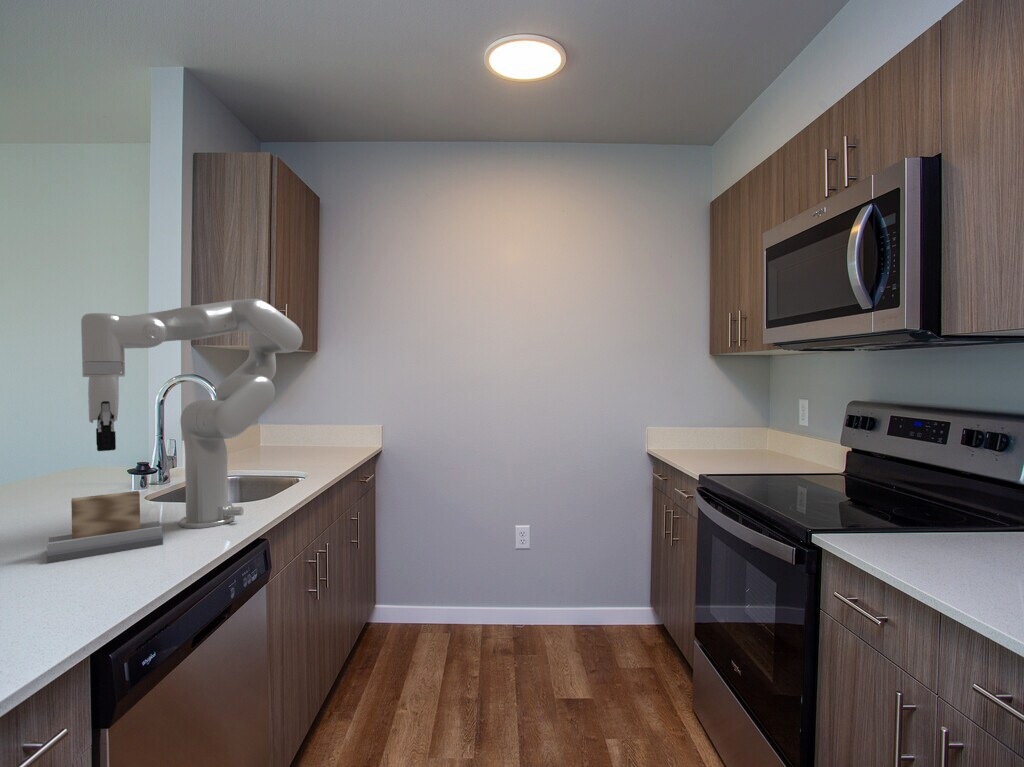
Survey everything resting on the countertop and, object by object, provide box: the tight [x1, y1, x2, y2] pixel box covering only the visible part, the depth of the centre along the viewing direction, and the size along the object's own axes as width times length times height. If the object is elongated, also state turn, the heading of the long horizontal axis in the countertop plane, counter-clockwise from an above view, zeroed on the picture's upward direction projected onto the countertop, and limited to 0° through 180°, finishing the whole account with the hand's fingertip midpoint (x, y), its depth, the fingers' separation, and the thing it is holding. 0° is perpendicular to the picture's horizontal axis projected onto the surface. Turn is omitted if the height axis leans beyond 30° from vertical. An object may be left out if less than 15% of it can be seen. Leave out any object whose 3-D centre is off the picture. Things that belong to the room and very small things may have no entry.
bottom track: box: [46, 520, 164, 564], centre depth 122 cm, size 20×10×4 cm, turn 128°
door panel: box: [70, 490, 141, 539], centre depth 122 cm, size 12×3×10 cm, turn 128°
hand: (105, 447), depth 122 cm, fingers open, 9 cm apart
